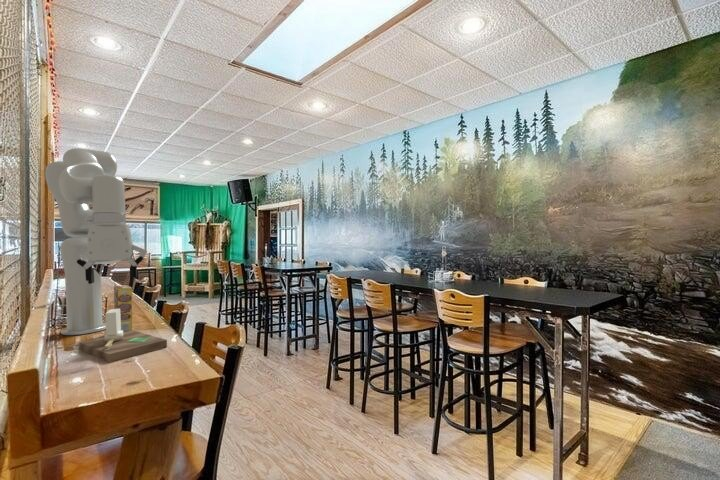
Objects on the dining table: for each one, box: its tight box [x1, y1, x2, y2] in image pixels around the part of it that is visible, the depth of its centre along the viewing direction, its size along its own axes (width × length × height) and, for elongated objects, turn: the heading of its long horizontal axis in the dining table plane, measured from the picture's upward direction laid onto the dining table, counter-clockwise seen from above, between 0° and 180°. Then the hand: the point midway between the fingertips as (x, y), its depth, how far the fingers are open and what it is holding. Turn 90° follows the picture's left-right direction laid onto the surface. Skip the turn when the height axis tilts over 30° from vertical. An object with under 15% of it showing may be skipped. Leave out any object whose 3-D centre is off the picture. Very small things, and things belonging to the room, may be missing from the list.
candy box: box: [113, 284, 133, 333], centre depth 116 cm, size 9×4×15 cm, turn 39°
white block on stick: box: [103, 308, 123, 348], centre depth 98 cm, size 13×4×8 cm, turn 25°
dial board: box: [78, 330, 168, 363], centre depth 100 cm, size 20×14×2 cm
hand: (112, 281), depth 101 cm, fingers open, 9 cm apart
